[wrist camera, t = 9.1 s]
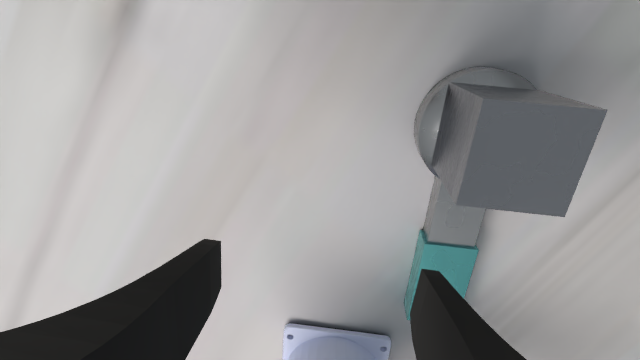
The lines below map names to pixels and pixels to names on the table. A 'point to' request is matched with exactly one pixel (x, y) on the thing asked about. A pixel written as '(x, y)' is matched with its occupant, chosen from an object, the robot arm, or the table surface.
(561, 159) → the socket
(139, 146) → the table surface
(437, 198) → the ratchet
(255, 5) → the table surface
